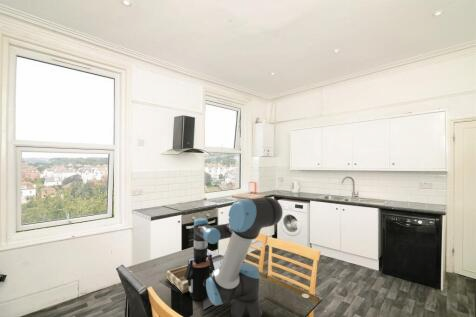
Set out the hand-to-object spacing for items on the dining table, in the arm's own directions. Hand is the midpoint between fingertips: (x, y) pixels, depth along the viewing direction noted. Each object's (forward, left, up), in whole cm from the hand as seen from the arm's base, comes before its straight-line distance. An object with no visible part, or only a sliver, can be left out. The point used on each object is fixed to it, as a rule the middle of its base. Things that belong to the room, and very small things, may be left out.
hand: (199, 287), depth 128 cm
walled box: (+18, -2, -5) cm, 19 cm away
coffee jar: (0, 0, -4) cm, 4 cm away
